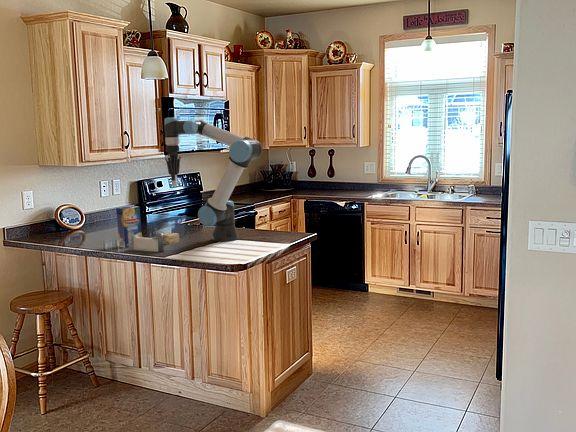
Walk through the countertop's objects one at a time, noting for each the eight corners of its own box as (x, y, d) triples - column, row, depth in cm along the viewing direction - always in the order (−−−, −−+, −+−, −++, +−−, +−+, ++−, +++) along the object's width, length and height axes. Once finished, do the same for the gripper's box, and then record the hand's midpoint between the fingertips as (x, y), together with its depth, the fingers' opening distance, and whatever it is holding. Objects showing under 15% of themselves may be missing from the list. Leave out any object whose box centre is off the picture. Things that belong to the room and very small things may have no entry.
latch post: (135, 249, 321) (134, 231, 319) (131, 250, 318) (130, 232, 316) (132, 249, 321) (131, 231, 320) (129, 250, 319) (127, 232, 317)
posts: (165, 251, 314) (163, 233, 312) (161, 252, 311) (160, 234, 309) (135, 249, 321) (134, 231, 319) (132, 250, 318) (131, 232, 316)
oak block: (179, 241, 340) (178, 233, 339) (170, 244, 333) (169, 235, 332) (168, 241, 344) (168, 232, 343) (159, 243, 337) (159, 235, 336)
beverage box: (142, 244, 334) (139, 206, 330) (125, 248, 326) (122, 209, 322) (135, 243, 338) (133, 205, 335) (118, 246, 330) (116, 208, 327)
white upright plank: (159, 249, 314) (158, 236, 313) (156, 250, 313) (156, 237, 312) (136, 248, 321) (135, 235, 319) (134, 248, 319) (133, 235, 318)
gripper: (172, 144, 340) (175, 184, 344) (160, 145, 328) (162, 187, 332) (184, 144, 337) (186, 184, 341) (171, 145, 325) (174, 187, 329)
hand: (174, 186), depth 336 cm, fingers closed
